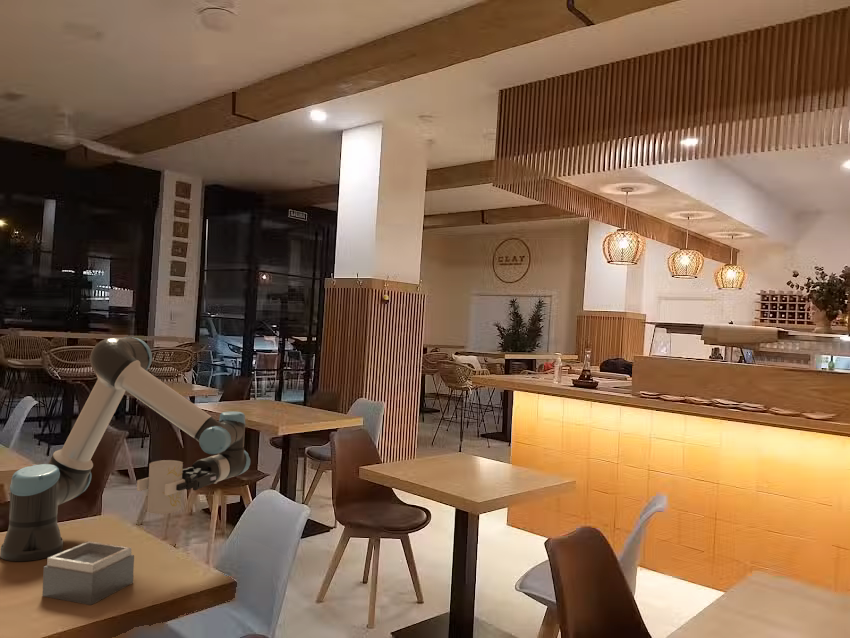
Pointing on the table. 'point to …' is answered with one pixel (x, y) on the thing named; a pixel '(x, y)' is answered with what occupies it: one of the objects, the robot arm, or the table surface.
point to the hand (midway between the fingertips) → (152, 487)
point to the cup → (163, 486)
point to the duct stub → (88, 572)
